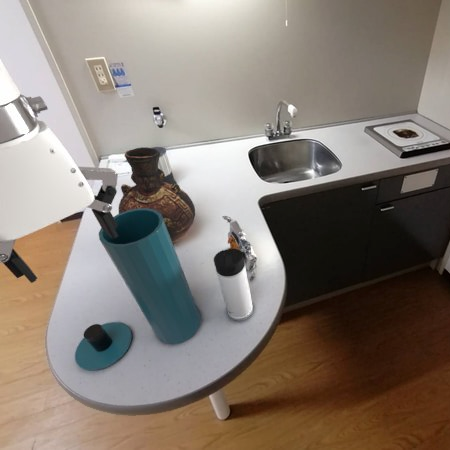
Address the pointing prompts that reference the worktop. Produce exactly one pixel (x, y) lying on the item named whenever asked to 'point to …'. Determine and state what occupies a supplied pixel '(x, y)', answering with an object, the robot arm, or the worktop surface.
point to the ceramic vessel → (156, 193)
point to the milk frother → (164, 166)
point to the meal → (241, 244)
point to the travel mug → (234, 283)
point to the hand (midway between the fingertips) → (73, 253)
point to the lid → (102, 345)
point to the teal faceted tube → (153, 273)
